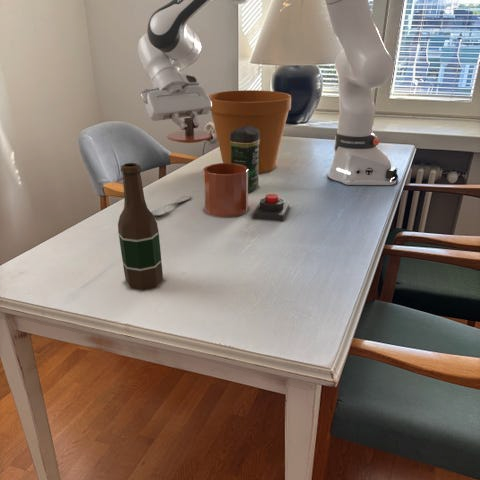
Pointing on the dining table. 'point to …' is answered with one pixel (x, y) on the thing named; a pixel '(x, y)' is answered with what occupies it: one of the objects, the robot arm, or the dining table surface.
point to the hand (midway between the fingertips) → (190, 127)
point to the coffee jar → (246, 152)
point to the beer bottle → (138, 234)
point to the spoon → (161, 209)
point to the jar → (226, 189)
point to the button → (272, 198)
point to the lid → (189, 134)
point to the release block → (271, 210)
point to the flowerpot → (251, 121)
